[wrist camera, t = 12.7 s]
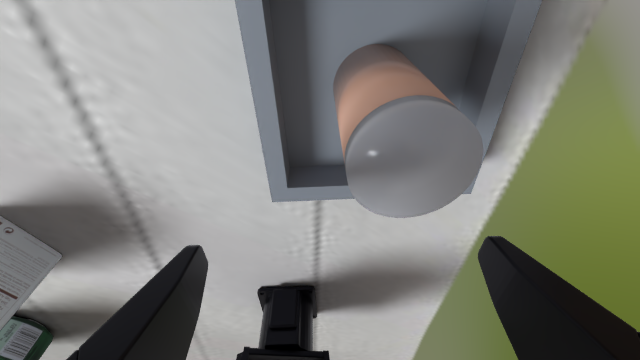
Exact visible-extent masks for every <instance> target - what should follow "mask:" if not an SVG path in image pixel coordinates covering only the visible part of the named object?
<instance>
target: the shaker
mask: <svg viewBox="0 0 640 360" xmlns="http://www.w3.org/2000/svg"><path fill="white" fill-rule="evenodd" d="M333 95H334V101H335V107H336V113H337V120H338V126H339V132H340V138H341V145H342V151H343V157H344V163H345V170H346V176H347V181H348V186H349V188H350V191H351V193H352V195H353V196H354V198H355V199H356V200H357V201H358V202H359V203H360V204H361V205H362V206H363V207H365V208H366V209H368V210H369V211H372V212H374V213H376V214H379V215H382V216H387V217H394V218H407V217H415V216H420V215H424V214H428V213H430V212H433V211H436V210H438V209H440V208H442V207H444V206H446V205H447V204H449V203H451V202H452V201H453V200H455V199H456V198H457V197H459V196H460V195H461V194H462V193H463V192H464V191H465V190H466V189H467V188H468V187H469V186H470V184H471V183H472V182H473V180H474V179H475V177H476V175H477V173H478V171H479V169H480V166H481V163H482V159H483V143H482V138H481V136H480V133H479V131H478V130H477V128H476V127H475V125H474V124H473V123H472V122H471V121H470V120H469V119H468V118H467V117H466V116H465V115H464V114H463V113H462V112H461V111H460V110H459V109H458V108H457V107H456V106H455V105H454V104H453V103H452V102H451V101H450V100H449V99H448V98H447V97H446V96H445V95H444V94H443V93H442V92H441V91H440V90H439V89H438V88H437V87H436V86H435V85H434V84H433V83H432V82H431V81H430V80H429V79H428V78H427V77H426V76H425V75H424V74H423V73H422V72H421V71H420V70H419V69H418V68H417V67H416V66H415V65H414V64H413V63H412V62H411V61H410V60H409V59H408V58H407V57H406V56H405V55H404V54H403V53H402V52H400V51H399V50H398V49H396V48H394V47H392V46H389V45H384V44H371V45H367V46H364V47H361V48H359V49H357V50H355V51H354V52H352V53H351V54H350V55H349V56H347V57H346V58H345V60H344V61H343V62H342V63H341V65H340V66H339V68H338V70H337V72H336V75H335V78H334V83H333Z"/></svg>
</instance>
